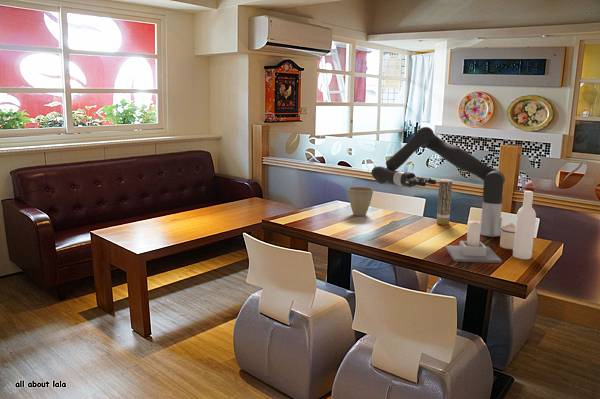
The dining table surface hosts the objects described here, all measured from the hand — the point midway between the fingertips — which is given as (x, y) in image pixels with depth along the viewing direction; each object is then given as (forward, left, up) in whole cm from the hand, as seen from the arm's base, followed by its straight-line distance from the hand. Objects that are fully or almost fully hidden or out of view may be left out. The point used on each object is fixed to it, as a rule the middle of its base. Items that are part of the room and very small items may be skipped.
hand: (430, 183), depth 248 cm
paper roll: (-16, +27, -27) cm, 41 cm away
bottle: (-38, +27, -28) cm, 54 cm away
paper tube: (-14, -29, -28) cm, 43 cm away
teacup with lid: (-38, +11, -28) cm, 48 cm away
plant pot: (+32, -45, -28) cm, 62 cm away
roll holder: (-16, +27, -28) cm, 42 cm away
